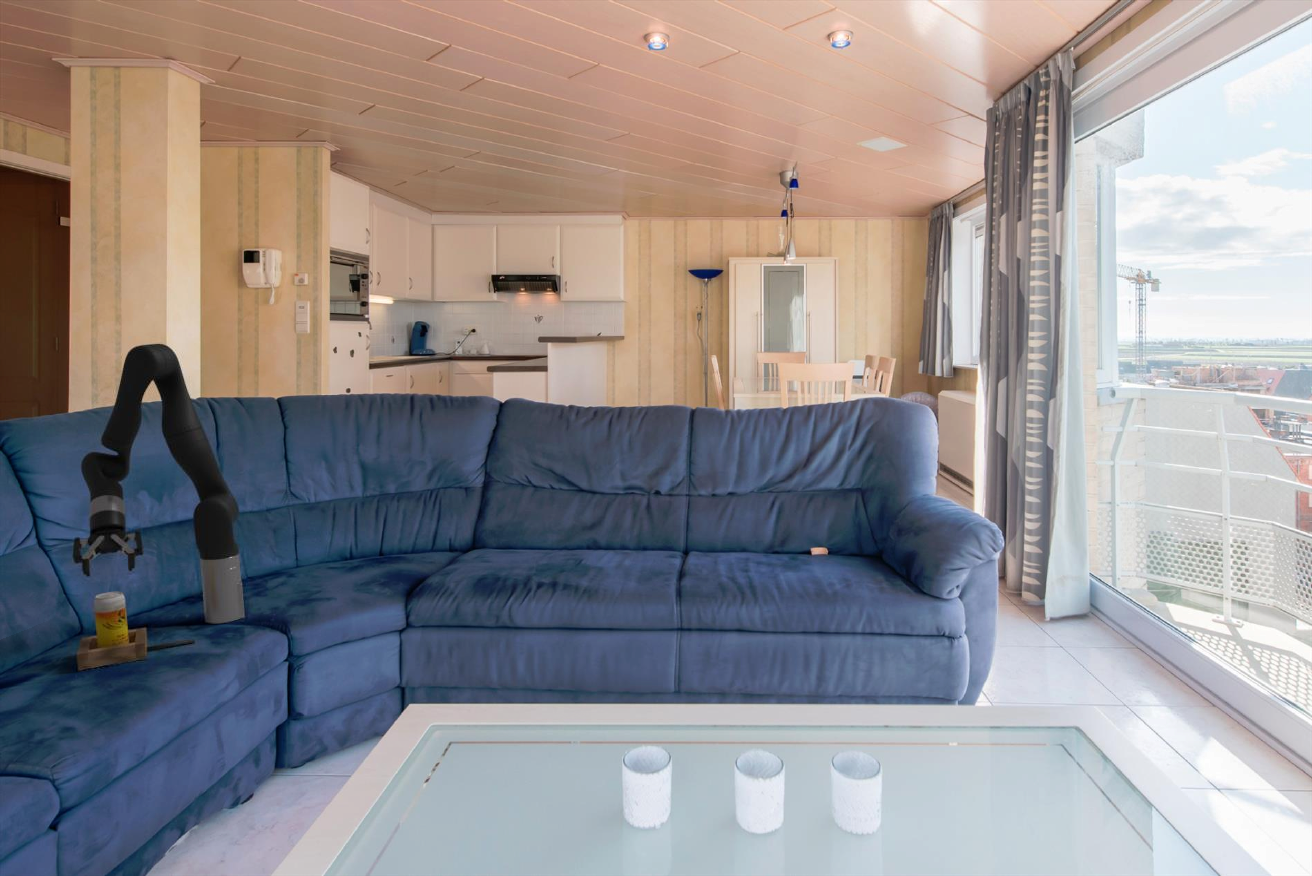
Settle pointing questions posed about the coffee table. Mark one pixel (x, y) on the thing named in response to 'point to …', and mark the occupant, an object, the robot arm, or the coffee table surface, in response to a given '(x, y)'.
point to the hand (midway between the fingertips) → (109, 572)
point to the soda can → (111, 619)
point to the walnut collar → (117, 650)
